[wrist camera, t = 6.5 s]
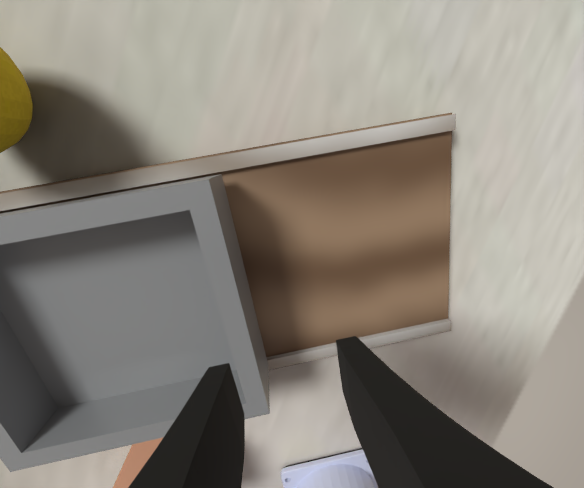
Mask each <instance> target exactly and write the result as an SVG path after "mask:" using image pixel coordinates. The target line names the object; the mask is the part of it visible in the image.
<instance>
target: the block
mask: <svg viewBox="0 0 584 488" xmlns="http://www.w3.org/2000/svg"><path fill="white" fill-rule="evenodd" d="M163 438H164V437H163ZM163 438H159V439H154V440H150V441H145V442H141V443H136V444H132V446H131V449H130V451H129V453H128V455H127V458H126V460H125V462H124V464H123V466H122V469H121V471H120V473H119V475H118V478H117V480H116V482H115V484H114V486H113V488H128V487H129V486H130V484H131V483H132V482H133V480H134V479H135V477H136V476H137V475H138V473H139V472H140V470H141V469H142V468H143V466H144V465H145V463H146V462H147V461H148V459H149V458H150V456H151V455H152V454H153V452H154V451H155V449H156V448H157V446H158V445H159V444H160V442H161V441H162V439H163Z"/></svg>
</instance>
